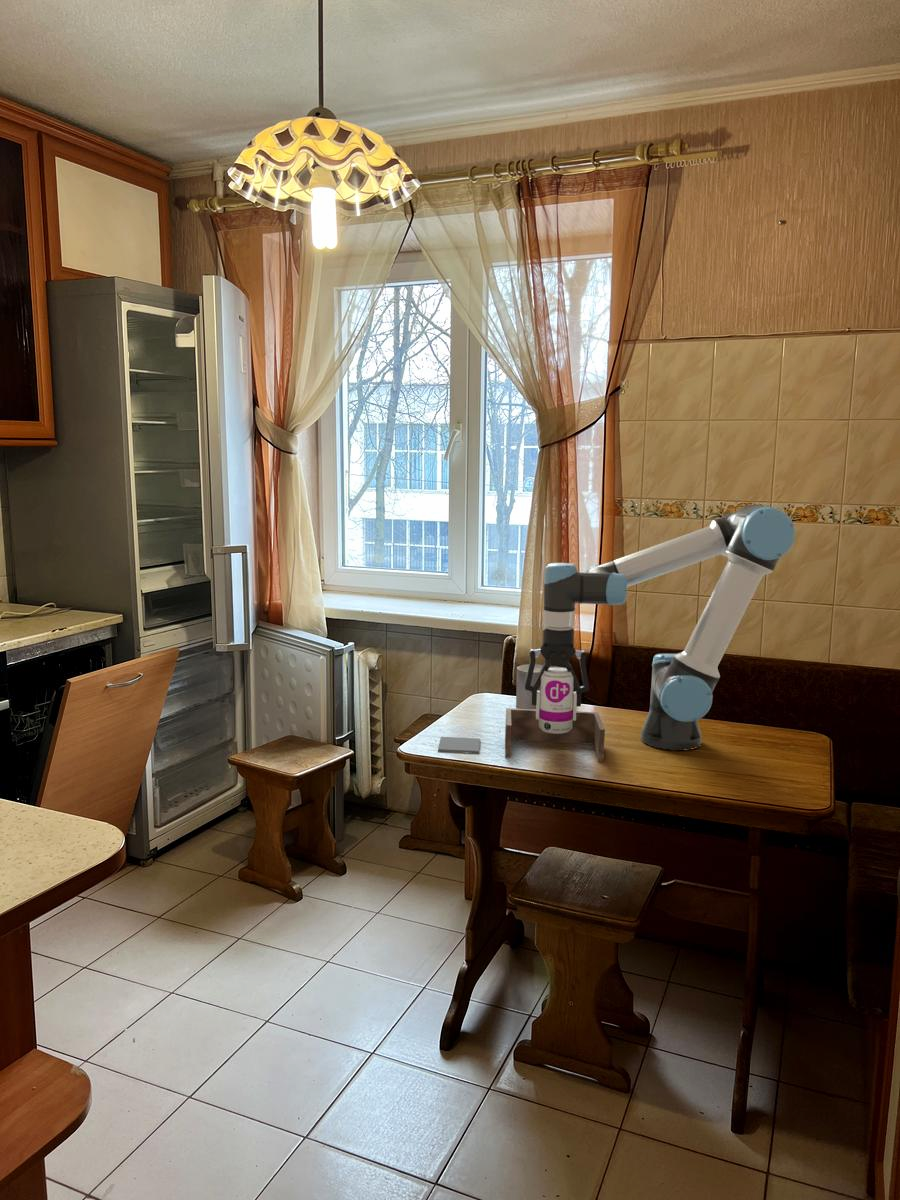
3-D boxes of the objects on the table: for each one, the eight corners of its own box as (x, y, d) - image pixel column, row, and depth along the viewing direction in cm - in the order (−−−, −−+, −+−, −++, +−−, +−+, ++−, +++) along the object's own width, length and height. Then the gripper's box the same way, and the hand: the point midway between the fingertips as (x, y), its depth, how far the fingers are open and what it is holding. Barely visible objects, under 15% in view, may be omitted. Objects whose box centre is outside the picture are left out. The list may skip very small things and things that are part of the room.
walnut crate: (596, 742, 229) (598, 712, 228) (603, 762, 214) (605, 729, 213) (504, 738, 230) (506, 708, 229) (505, 757, 215) (506, 725, 214)
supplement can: (571, 735, 216) (574, 674, 213) (537, 733, 217) (539, 672, 215) (572, 725, 223) (574, 667, 221) (539, 723, 225) (541, 665, 222)
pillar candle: (546, 710, 257) (548, 659, 255) (552, 720, 247) (554, 667, 245) (513, 710, 256) (514, 659, 254) (517, 720, 247) (519, 667, 244)
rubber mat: (480, 740, 227) (480, 738, 227) (479, 753, 218) (479, 751, 217) (440, 738, 228) (440, 736, 228) (438, 751, 218) (438, 749, 218)
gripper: (600, 625, 219) (597, 715, 223) (514, 623, 221) (512, 712, 224) (604, 631, 212) (600, 724, 215) (515, 629, 213) (512, 721, 217)
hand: (555, 718), depth 220 cm, fingers closed on supplement can, 8 cm apart
